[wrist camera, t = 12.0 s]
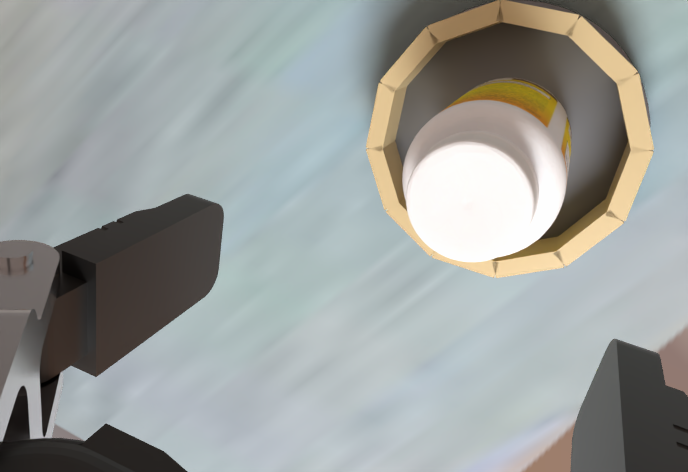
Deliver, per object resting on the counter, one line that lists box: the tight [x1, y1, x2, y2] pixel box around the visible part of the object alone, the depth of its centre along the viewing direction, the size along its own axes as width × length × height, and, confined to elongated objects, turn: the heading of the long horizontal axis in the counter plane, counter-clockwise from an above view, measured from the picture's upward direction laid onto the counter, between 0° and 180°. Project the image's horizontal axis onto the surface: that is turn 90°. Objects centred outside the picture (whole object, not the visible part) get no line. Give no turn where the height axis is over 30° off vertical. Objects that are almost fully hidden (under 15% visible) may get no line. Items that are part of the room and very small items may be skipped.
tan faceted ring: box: [366, 0, 654, 278], centre depth 27 cm, size 12×12×3 cm
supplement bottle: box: [402, 78, 572, 262], centre depth 23 cm, size 6×6×10 cm
